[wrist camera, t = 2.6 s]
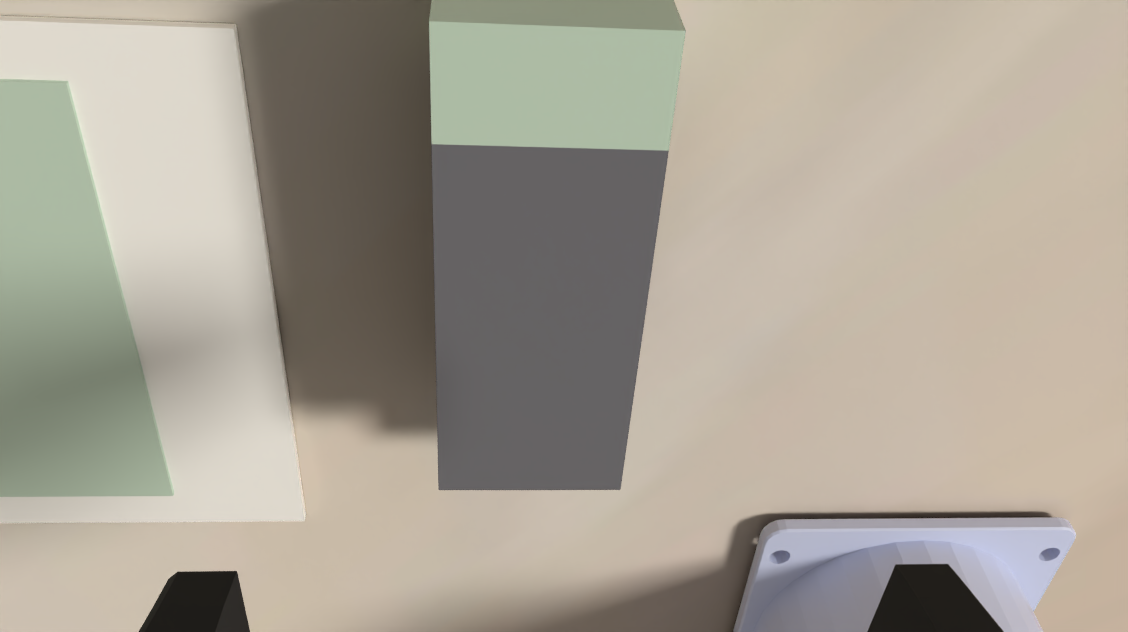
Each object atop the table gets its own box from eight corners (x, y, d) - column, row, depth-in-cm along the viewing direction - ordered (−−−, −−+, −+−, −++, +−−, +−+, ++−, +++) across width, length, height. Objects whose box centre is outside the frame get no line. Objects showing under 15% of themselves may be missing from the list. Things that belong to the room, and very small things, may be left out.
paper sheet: (306, 514, 24) (303, 524, 24) (-142, 516, 23) (-149, 527, 23) (236, 23, 16) (232, 31, 16) (-429, 0, 16) (-443, 7, 15)
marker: (600, 404, 22) (614, 524, 20) (445, 403, 22) (439, 525, 19) (652, -53, 16) (685, 31, 13) (439, -63, 16) (429, 20, 13)
